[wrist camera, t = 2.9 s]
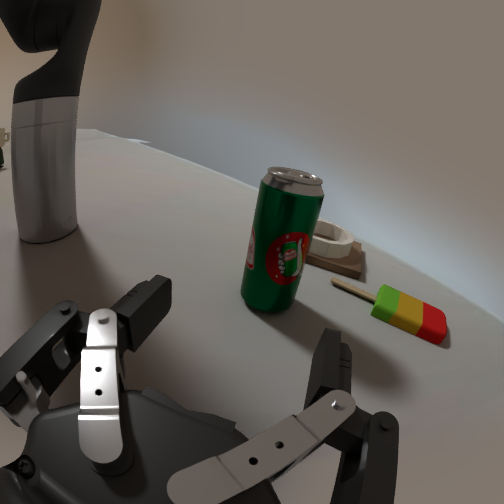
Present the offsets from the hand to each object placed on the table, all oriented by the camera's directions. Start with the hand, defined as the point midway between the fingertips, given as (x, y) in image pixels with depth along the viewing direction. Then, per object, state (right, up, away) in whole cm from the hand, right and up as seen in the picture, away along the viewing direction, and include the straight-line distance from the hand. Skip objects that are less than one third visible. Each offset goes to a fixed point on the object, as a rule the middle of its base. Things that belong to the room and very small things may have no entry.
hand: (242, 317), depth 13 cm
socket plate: (+10, +4, +25) cm, 27 cm away
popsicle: (+15, -4, +15) cm, 22 cm away
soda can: (+2, -1, +13) cm, 13 cm away
